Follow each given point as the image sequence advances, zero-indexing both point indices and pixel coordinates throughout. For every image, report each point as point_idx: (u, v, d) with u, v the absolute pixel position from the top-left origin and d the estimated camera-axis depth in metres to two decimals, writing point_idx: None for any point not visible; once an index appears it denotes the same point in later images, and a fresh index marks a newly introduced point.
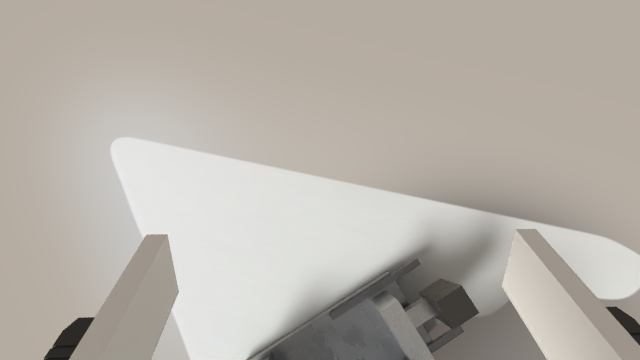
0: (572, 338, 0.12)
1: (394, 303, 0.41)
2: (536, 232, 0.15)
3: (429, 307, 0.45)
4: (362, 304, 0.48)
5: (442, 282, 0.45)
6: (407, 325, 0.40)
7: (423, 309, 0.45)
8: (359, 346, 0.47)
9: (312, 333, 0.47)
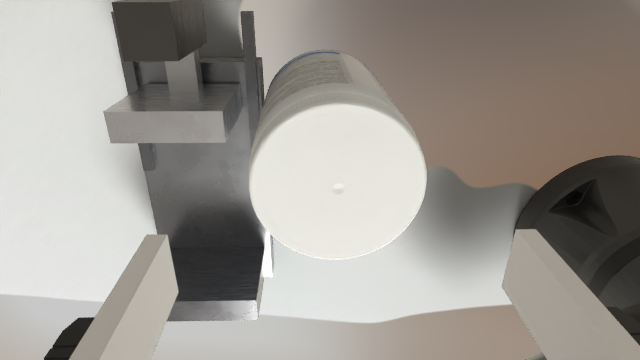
0: (572, 338, 0.12)
1: (107, 118, 0.25)
2: (536, 232, 0.15)
3: None
4: None
5: None
6: (148, 120, 0.25)
7: None
8: (205, 155, 0.34)
9: (162, 197, 0.35)
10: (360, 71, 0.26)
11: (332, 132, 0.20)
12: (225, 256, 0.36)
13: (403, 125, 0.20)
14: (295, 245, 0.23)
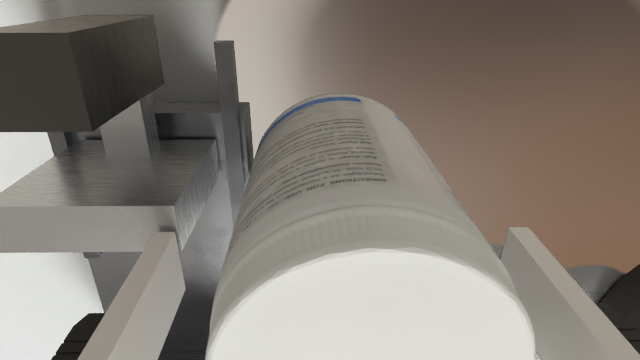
0: (562, 334, 0.12)
1: None
2: (528, 230, 0.15)
3: None
4: None
5: None
6: (53, 219, 0.15)
7: None
8: None
9: (114, 288, 0.26)
10: (397, 139, 0.17)
11: (362, 297, 0.10)
12: None
13: (501, 283, 0.10)
14: None
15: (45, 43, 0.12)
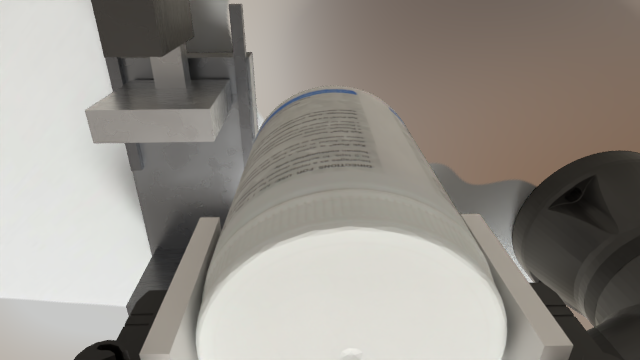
0: None
1: (89, 117, 0.24)
2: (479, 216, 0.16)
3: None
4: None
5: None
6: (132, 119, 0.24)
7: None
8: (195, 154, 0.33)
9: (151, 197, 0.34)
10: (388, 130, 0.17)
11: (343, 272, 0.11)
12: None
13: (474, 263, 0.11)
14: None
15: (138, 0, 0.20)
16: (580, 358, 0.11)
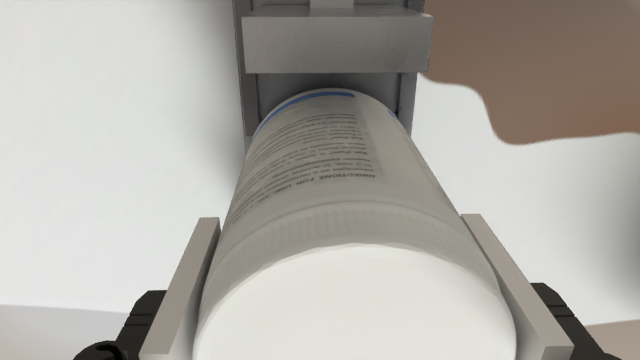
0: None
1: (245, 30, 0.15)
2: (480, 216, 0.16)
3: None
4: None
5: None
6: (311, 32, 0.15)
7: None
8: None
9: None
10: (389, 135, 0.17)
11: (347, 290, 0.10)
12: None
13: (484, 279, 0.10)
14: None
15: None
16: (581, 358, 0.11)
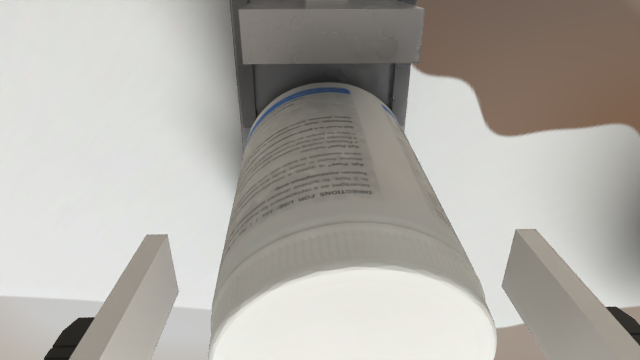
0: (572, 338, 0.12)
1: (242, 22, 0.16)
2: (536, 232, 0.15)
3: None
4: None
5: None
6: (306, 24, 0.16)
7: None
8: None
9: None
10: (383, 139, 0.17)
11: (348, 305, 0.12)
12: None
13: (469, 293, 0.12)
14: None
15: None
16: None
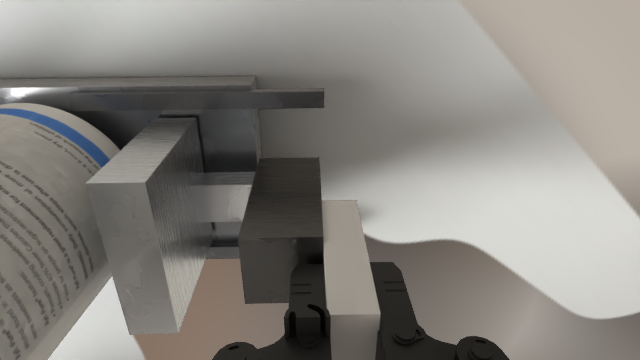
0: None
1: (132, 184, 0.14)
2: (354, 202, 0.17)
3: None
4: (157, 113, 0.20)
5: (310, 174, 0.19)
6: (144, 244, 0.15)
7: (240, 200, 0.20)
8: None
9: None
10: (71, 319, 0.16)
11: None
12: None
13: None
14: None
15: None
16: None
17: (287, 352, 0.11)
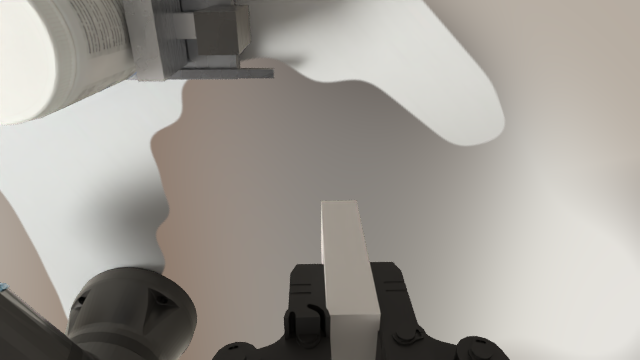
0: None
1: None
2: (355, 202, 0.17)
3: None
4: None
5: (239, 6, 0.34)
6: (146, 19, 0.30)
7: None
8: None
9: None
10: (121, 61, 0.31)
11: (26, 42, 0.23)
12: None
13: (48, 102, 0.25)
14: None
15: (234, 45, 0.30)
16: None
17: (287, 352, 0.11)
